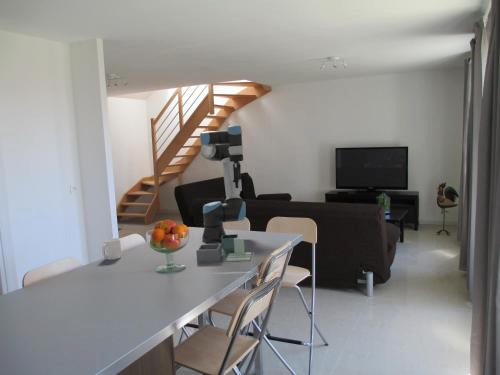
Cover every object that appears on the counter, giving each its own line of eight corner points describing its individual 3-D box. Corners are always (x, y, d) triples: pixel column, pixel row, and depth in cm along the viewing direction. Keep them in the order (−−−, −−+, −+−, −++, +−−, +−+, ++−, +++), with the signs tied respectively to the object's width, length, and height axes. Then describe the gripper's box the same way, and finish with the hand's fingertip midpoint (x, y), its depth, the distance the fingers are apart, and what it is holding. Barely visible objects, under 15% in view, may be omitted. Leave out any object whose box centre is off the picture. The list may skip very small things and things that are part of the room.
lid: (229, 256, 216) (227, 238, 215) (251, 255, 215) (249, 237, 214) (226, 263, 203) (225, 244, 202) (249, 262, 202) (248, 243, 201)
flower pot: (238, 254, 219) (237, 237, 218) (222, 255, 219) (221, 238, 218) (238, 249, 228) (237, 234, 227) (222, 250, 228) (221, 235, 227)
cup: (124, 256, 228) (123, 238, 227) (109, 262, 218) (107, 243, 217) (113, 255, 232) (111, 237, 231) (97, 261, 221) (95, 242, 220)
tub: (201, 257, 216) (200, 244, 215) (222, 256, 215) (221, 243, 215) (197, 264, 204) (196, 250, 203) (219, 263, 204) (218, 249, 203)
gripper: (231, 153, 237) (233, 190, 239) (226, 155, 212) (229, 195, 214) (244, 153, 236) (246, 189, 239) (241, 154, 212) (243, 195, 214)
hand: (238, 192), depth 227 cm, fingers open, 13 cm apart
